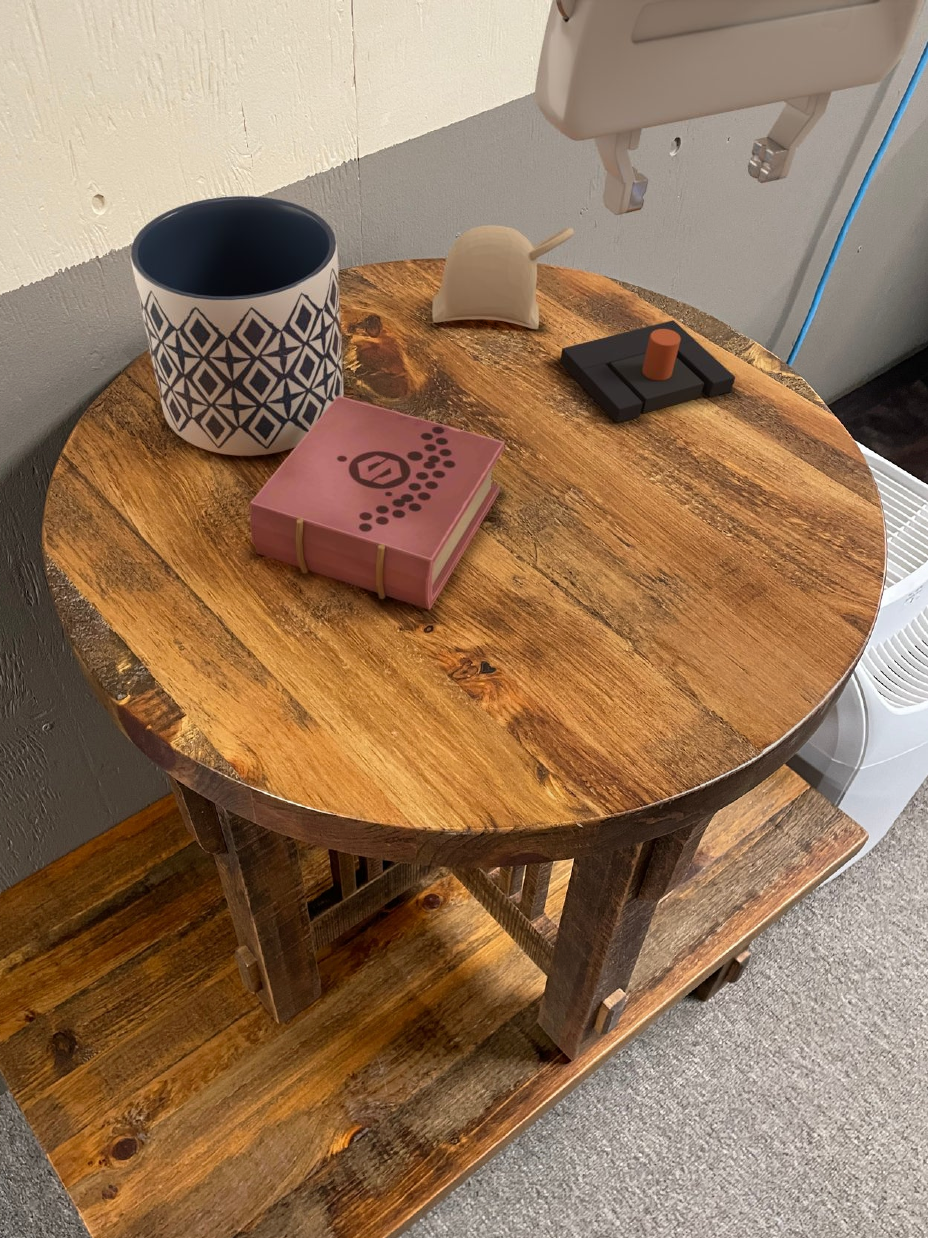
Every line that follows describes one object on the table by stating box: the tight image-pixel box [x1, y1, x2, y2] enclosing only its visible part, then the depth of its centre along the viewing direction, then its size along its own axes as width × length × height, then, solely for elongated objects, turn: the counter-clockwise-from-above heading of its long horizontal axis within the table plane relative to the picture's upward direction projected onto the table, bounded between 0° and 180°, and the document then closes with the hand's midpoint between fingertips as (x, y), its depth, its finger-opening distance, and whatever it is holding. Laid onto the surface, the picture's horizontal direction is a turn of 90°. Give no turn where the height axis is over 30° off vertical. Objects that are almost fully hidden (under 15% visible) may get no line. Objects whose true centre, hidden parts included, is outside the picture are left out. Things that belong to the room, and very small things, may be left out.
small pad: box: [609, 329, 704, 414], centre depth 88 cm, size 6×6×5 cm
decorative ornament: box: [431, 224, 575, 330], centre depth 94 cm, size 6×12×8 cm, turn 84°
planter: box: [130, 195, 344, 457], centre depth 82 cm, size 16×16×14 cm
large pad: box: [559, 319, 736, 424], centre depth 90 cm, size 12×10×2 cm
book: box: [249, 396, 506, 611], centre depth 76 cm, size 14×15×5 cm
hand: (695, 192), depth 55 cm, fingers open, 8 cm apart
